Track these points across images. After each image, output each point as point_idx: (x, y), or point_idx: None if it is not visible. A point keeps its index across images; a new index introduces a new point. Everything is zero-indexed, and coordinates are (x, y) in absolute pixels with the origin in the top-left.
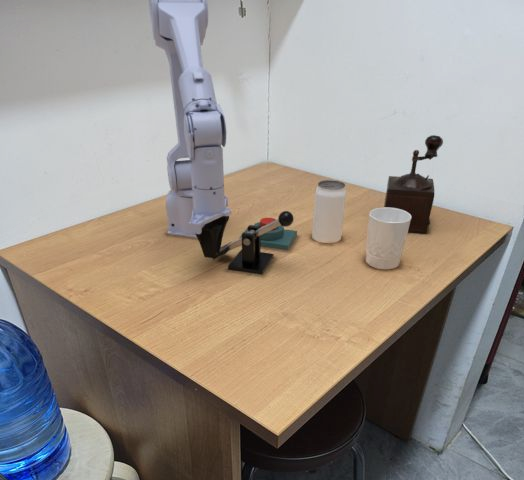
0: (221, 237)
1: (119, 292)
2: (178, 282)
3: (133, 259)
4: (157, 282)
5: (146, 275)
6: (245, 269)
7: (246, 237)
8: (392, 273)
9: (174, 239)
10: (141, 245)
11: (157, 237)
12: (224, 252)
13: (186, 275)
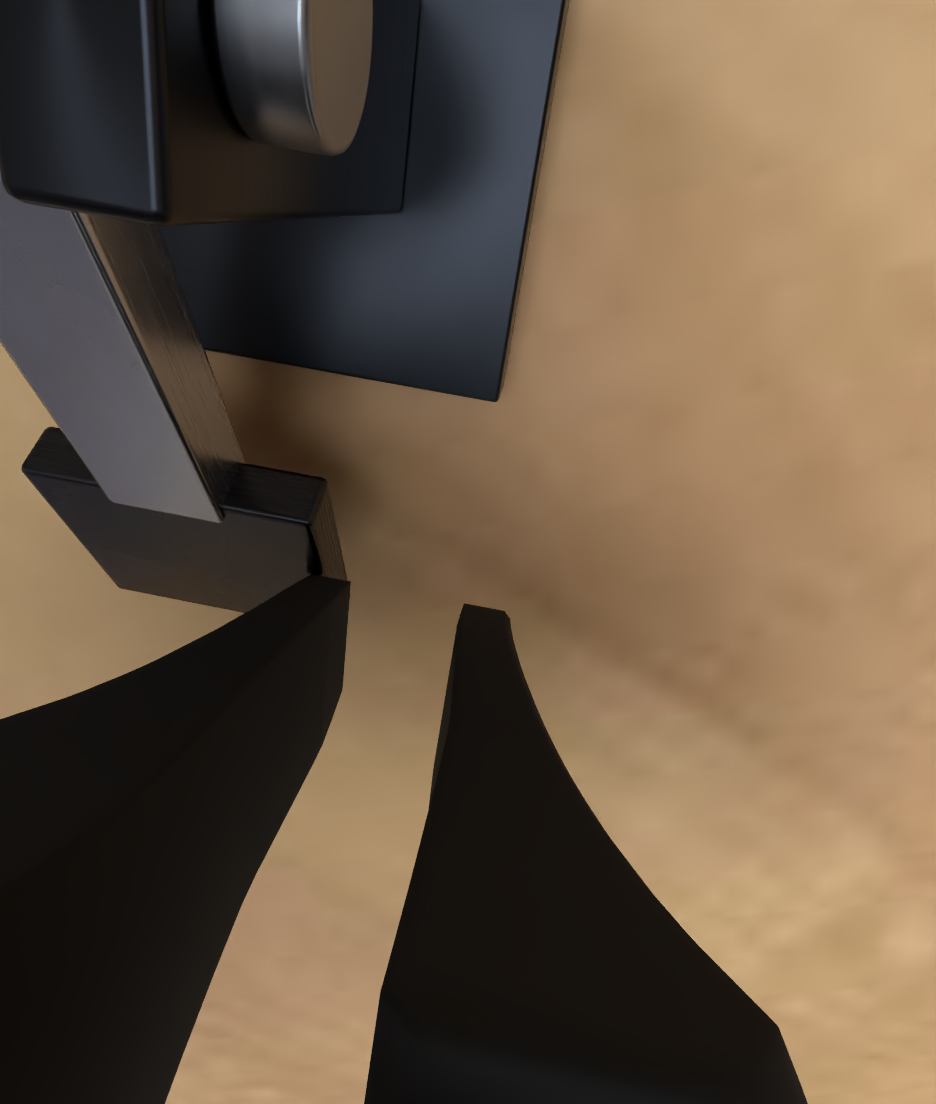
0: (223, 671)
1: (931, 1091)
2: (790, 799)
3: None
4: (784, 926)
5: None
6: (546, 125)
7: (207, 33)
8: None
9: None
10: (216, 1050)
11: None
12: (326, 510)
13: (648, 759)
